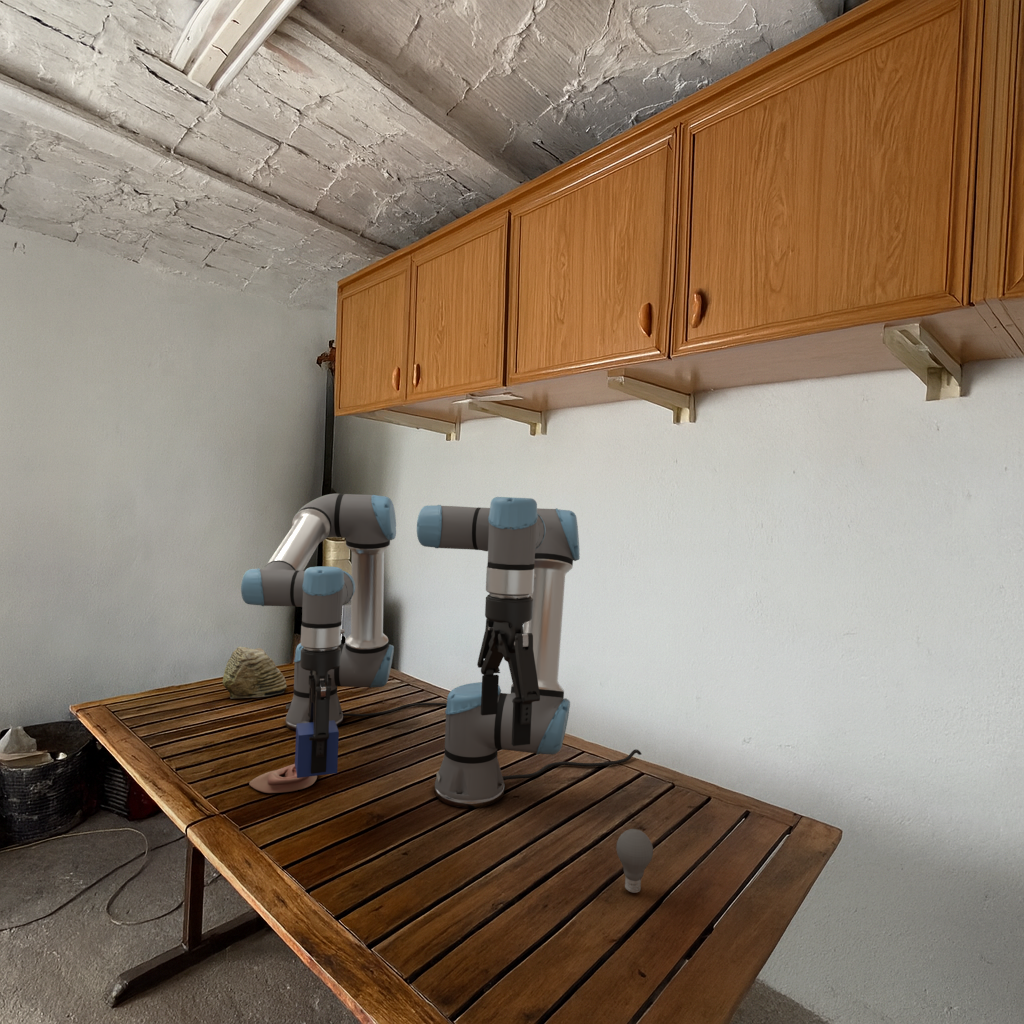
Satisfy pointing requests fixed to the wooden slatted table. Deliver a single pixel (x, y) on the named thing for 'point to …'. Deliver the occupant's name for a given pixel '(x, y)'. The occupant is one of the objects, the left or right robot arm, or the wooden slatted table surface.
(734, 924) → the wooden slatted table surface
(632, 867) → the light bulb
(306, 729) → the block
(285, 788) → the anatomical model
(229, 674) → the fossil
